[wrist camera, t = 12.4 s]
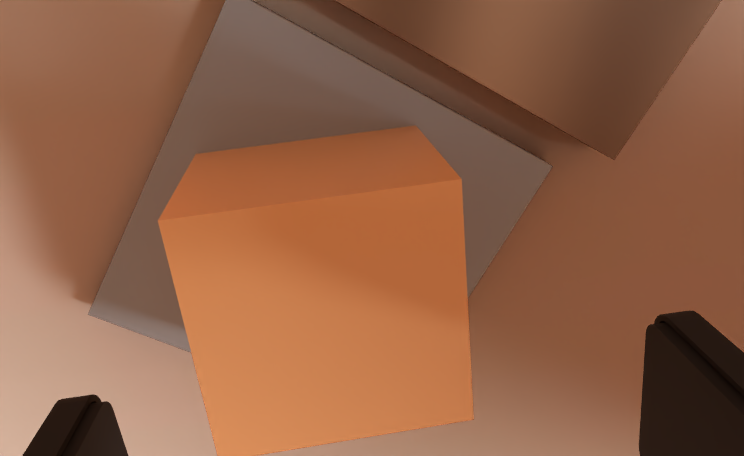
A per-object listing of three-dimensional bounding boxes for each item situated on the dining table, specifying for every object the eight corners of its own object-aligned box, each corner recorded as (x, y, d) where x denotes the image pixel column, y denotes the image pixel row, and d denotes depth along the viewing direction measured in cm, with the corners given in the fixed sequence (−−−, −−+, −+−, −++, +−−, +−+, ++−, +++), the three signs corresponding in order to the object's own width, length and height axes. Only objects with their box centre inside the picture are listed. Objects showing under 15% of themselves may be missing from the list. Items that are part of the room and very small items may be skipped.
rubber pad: (544, 161, 18) (553, 166, 18) (384, 413, 21) (386, 424, 21) (232, -11, 16) (230, -11, 15) (93, 304, 18) (87, 314, 18)
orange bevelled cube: (415, 125, 17) (461, 178, 12) (430, 314, 19) (473, 419, 15) (195, 154, 16) (158, 220, 12) (237, 344, 19) (219, 461, 14)
